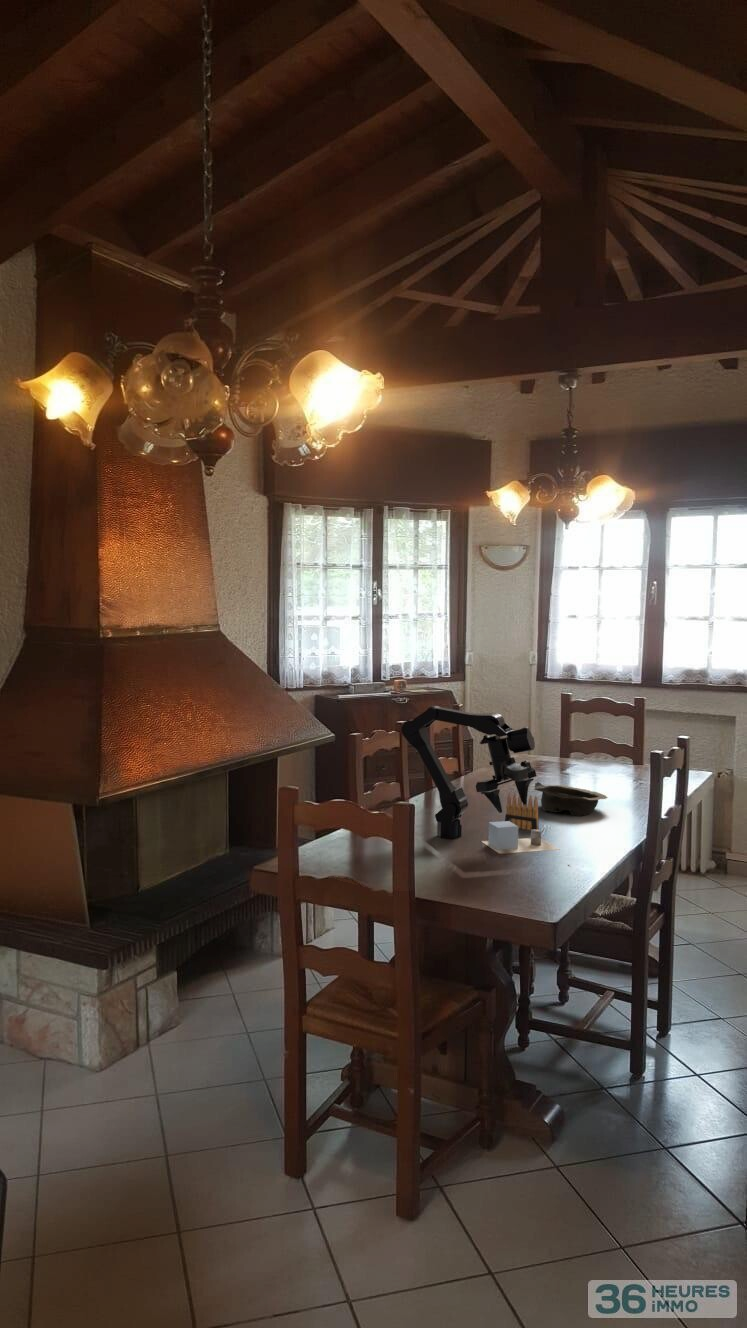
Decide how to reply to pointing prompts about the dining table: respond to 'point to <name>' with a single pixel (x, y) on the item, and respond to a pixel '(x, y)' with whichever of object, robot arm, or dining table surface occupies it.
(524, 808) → the ammunition clip
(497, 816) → the dining table surface
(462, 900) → the dining table surface
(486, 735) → the robot arm
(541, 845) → the stub board
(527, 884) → the dining table surface
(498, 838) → the pale grey cube
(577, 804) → the stone bowl
